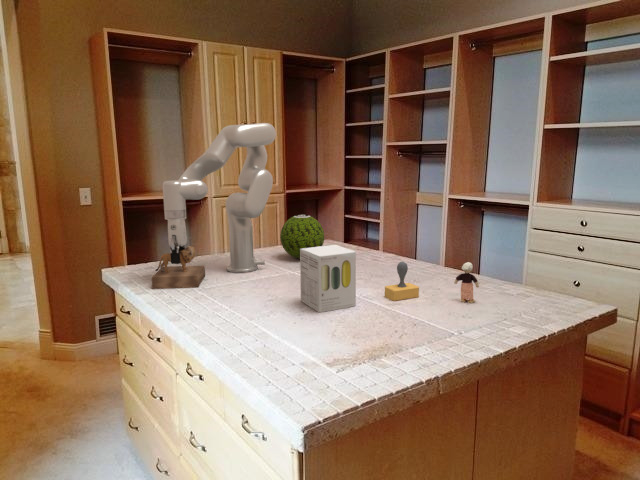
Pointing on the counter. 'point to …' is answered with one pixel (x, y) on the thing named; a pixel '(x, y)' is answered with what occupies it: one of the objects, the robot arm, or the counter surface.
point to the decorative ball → (301, 234)
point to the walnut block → (178, 277)
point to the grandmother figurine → (467, 283)
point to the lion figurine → (185, 258)
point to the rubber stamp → (401, 286)
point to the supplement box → (328, 277)
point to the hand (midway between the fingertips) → (178, 260)
